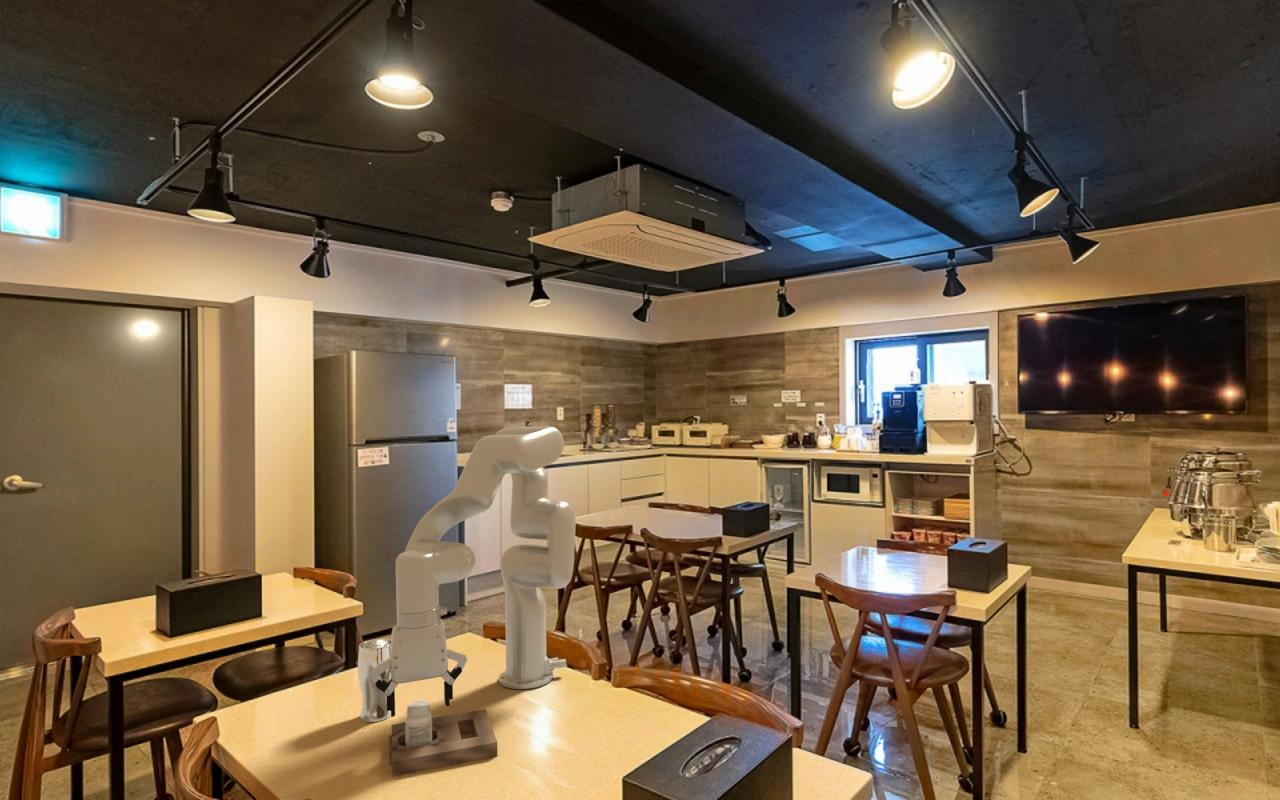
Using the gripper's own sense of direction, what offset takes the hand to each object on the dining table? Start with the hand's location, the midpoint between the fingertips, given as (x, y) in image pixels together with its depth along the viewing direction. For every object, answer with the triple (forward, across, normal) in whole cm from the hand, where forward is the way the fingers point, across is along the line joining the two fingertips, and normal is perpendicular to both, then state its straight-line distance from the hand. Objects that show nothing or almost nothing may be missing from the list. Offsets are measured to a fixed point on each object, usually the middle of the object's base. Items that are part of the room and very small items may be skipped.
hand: (420, 708), depth 122 cm
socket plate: (+8, -4, +1) cm, 9 cm away
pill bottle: (+8, 0, +1) cm, 8 cm away
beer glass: (+8, +8, -18) cm, 22 cm away
